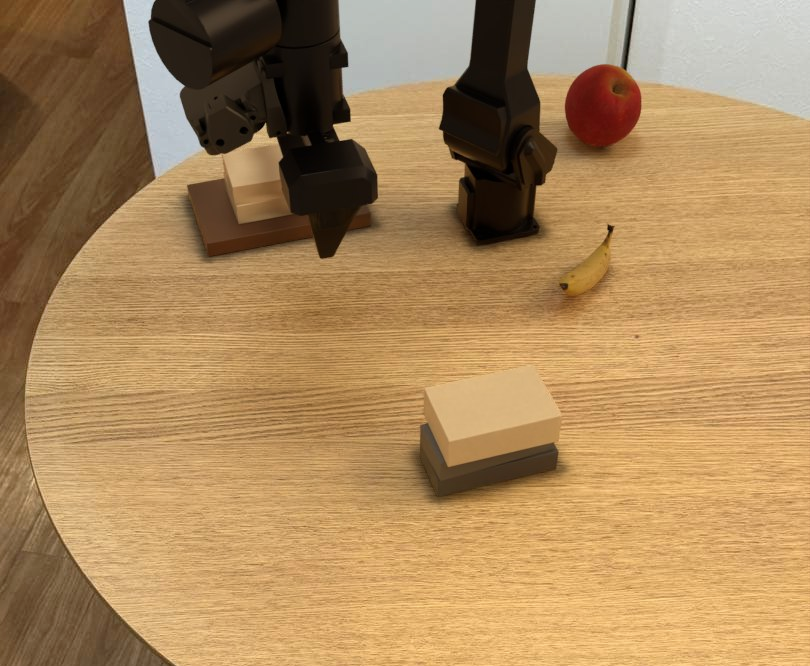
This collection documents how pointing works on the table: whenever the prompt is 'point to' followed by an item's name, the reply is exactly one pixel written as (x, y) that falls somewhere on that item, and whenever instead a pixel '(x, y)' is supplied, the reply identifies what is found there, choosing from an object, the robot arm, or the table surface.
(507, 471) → the grey books
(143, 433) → the table surface
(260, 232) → the shelf board
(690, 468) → the table surface
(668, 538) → the table surface
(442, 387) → the cream book
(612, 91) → the apple
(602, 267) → the banana
